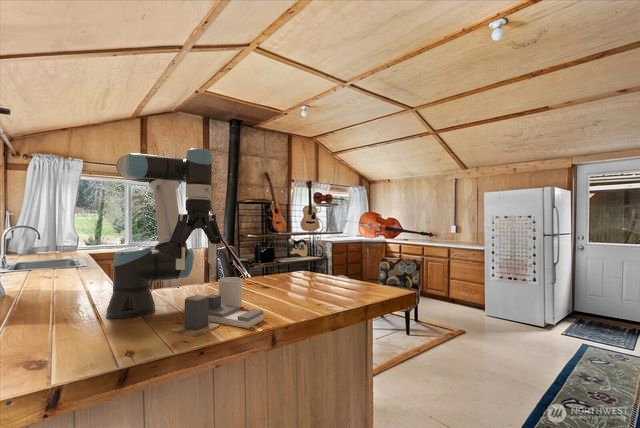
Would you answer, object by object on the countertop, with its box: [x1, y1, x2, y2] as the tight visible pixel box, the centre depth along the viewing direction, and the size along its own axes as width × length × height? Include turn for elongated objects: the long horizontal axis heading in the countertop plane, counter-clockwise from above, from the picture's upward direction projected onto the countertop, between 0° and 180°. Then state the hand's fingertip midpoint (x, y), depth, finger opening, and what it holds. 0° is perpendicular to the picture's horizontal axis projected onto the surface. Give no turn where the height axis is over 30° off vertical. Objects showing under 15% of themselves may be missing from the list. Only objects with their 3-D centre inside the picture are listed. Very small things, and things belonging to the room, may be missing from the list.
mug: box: [217, 276, 243, 309], centre depth 127 cm, size 12×9×11 cm
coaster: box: [171, 321, 221, 338], centre depth 102 cm, size 10×10×1 cm
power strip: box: [207, 293, 264, 329], centre depth 112 cm, size 24×9×7 cm, turn 67°
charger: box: [183, 294, 209, 331], centre depth 102 cm, size 5×5×9 cm
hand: (197, 266), depth 102 cm, fingers open, 13 cm apart
